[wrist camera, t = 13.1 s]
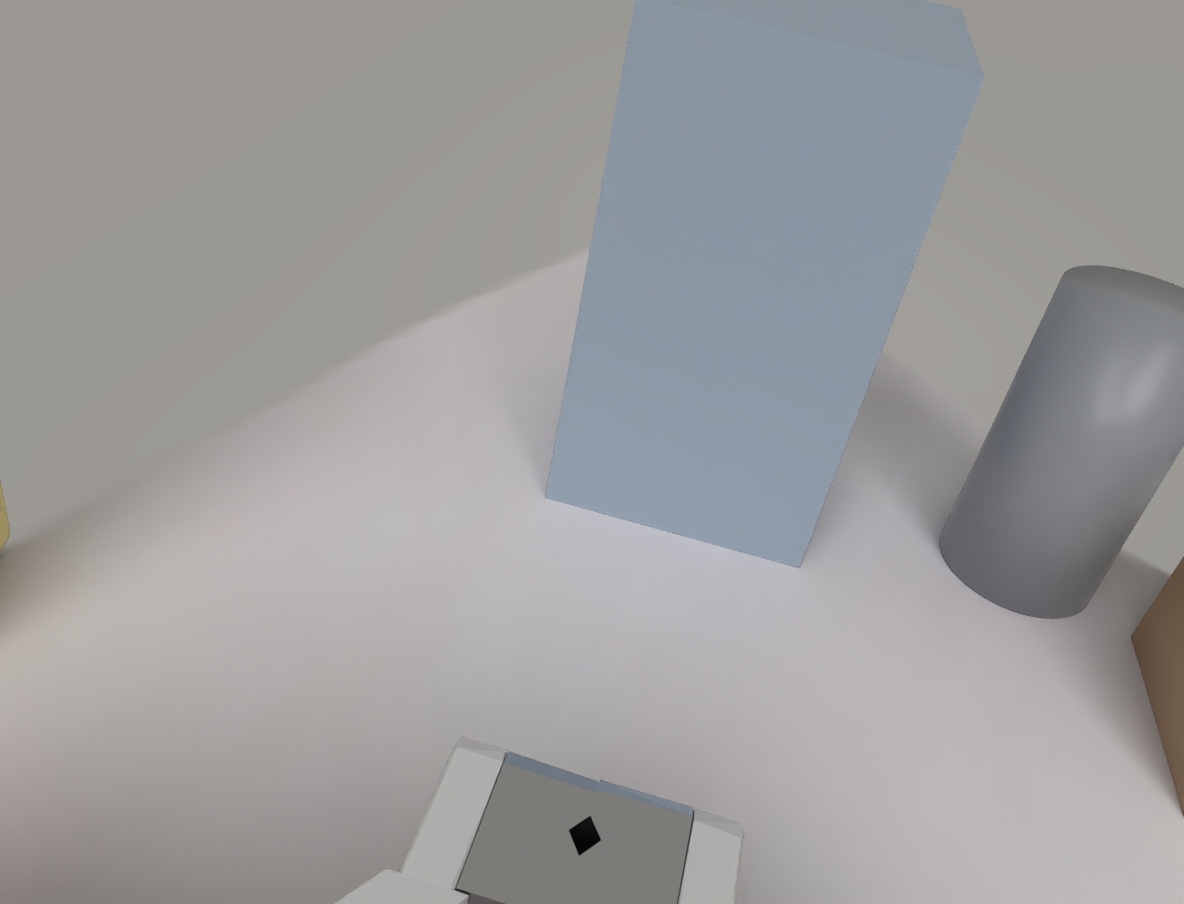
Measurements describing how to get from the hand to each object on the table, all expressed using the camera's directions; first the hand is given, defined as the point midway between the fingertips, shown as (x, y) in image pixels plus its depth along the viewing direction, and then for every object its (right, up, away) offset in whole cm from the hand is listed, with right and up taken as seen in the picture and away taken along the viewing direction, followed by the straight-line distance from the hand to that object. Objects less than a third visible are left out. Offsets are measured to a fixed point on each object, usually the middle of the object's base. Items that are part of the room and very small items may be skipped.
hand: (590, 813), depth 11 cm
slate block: (+2, +4, +16) cm, 16 cm away
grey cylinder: (+10, +1, +14) cm, 18 cm away
